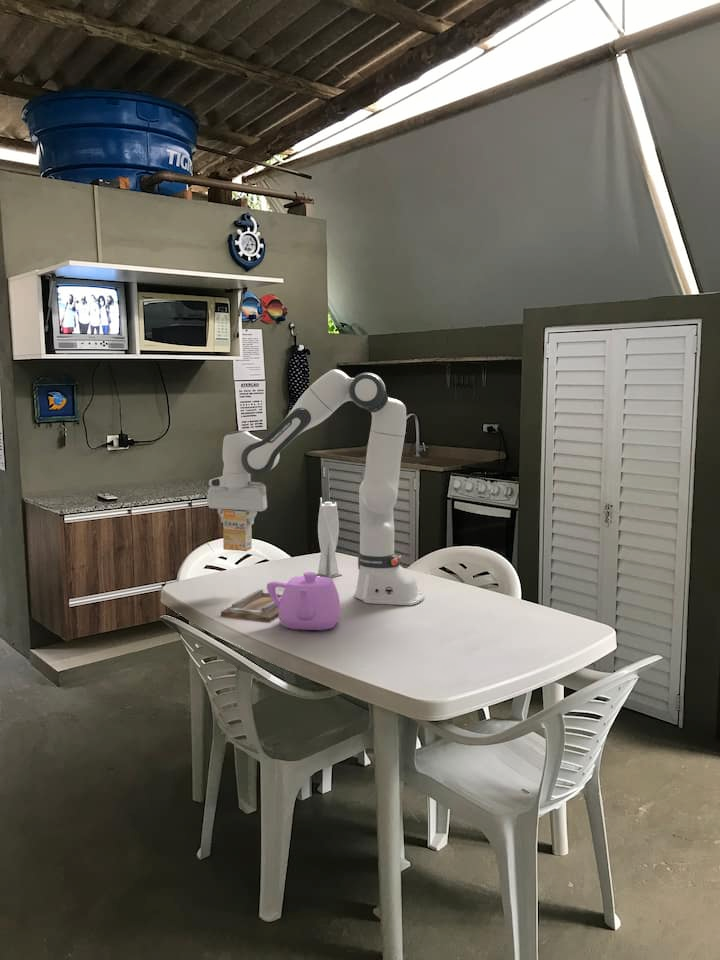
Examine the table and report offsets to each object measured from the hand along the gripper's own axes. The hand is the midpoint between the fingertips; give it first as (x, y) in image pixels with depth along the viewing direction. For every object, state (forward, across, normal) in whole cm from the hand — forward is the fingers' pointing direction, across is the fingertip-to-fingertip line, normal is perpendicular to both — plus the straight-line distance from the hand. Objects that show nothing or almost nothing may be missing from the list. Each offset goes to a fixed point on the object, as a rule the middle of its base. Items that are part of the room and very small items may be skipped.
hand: (237, 523), depth 250 cm
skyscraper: (+23, -19, -32) cm, 44 cm away
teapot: (+23, -36, +24) cm, 49 cm away
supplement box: (+9, 0, 0) cm, 9 cm away
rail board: (+23, -16, +14) cm, 31 cm away
